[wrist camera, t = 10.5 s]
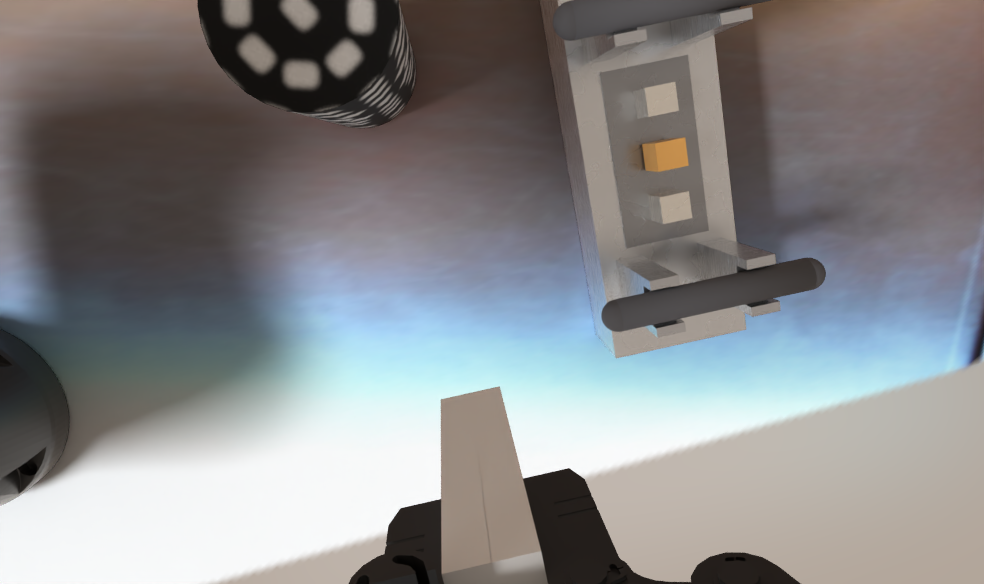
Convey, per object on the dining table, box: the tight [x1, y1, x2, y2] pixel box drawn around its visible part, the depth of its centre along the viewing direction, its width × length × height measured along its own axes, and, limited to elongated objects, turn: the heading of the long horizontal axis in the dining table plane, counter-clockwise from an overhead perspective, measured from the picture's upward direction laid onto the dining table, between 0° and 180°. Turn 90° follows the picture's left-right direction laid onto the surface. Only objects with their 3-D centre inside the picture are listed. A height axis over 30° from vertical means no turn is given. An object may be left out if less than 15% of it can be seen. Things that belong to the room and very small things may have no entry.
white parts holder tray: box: [539, 0, 780, 358], centre depth 42 cm, size 10×28×13 cm, turn 11°
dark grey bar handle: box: [601, 258, 826, 332], centre depth 38 cm, size 14×2×2 cm, turn 101°
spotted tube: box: [198, 0, 416, 128], centre depth 36 cm, size 8×8×20 cm
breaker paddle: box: [642, 137, 689, 172], centre depth 41 cm, size 2×2×3 cm
